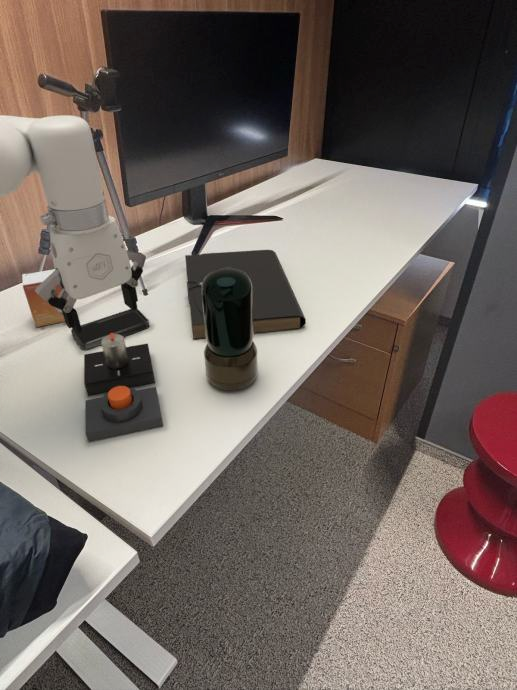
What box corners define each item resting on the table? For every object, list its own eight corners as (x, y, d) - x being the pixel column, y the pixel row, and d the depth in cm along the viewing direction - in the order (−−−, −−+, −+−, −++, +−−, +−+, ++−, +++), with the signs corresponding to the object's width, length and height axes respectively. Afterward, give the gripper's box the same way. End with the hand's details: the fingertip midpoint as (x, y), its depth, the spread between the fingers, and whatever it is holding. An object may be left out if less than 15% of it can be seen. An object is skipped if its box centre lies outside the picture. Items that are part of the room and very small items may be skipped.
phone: (150, 322, 103) (81, 346, 96) (151, 326, 104) (82, 350, 97) (135, 306, 109) (69, 328, 102) (136, 311, 109) (70, 332, 102)
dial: (129, 366, 88) (124, 343, 85) (107, 370, 87) (101, 347, 84) (127, 354, 91) (122, 330, 88) (106, 358, 90) (100, 334, 87)
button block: (88, 442, 77) (82, 424, 75) (88, 409, 83) (82, 392, 81) (163, 426, 80) (160, 408, 78) (157, 395, 86) (154, 378, 84)
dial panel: (88, 396, 86) (84, 383, 84) (87, 366, 93) (83, 353, 91) (155, 383, 89) (152, 370, 87) (150, 355, 96) (147, 342, 94)
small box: (35, 328, 104) (21, 285, 98) (35, 315, 108) (21, 273, 102) (74, 320, 107) (62, 278, 100) (72, 308, 111) (60, 266, 105)
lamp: (200, 391, 87) (188, 283, 74) (213, 359, 94) (204, 256, 82) (252, 396, 86) (249, 288, 73) (261, 364, 93) (260, 260, 80)
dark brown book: (184, 254, 124) (276, 248, 127) (185, 268, 126) (275, 262, 129) (190, 323, 97) (306, 313, 101) (192, 340, 100) (305, 329, 103)
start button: (110, 411, 78) (107, 402, 77) (109, 397, 81) (107, 388, 79) (133, 407, 79) (131, 397, 77) (131, 393, 81) (129, 383, 80)
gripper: (27, 239, 60) (62, 349, 70) (147, 206, 69) (163, 307, 79) (7, 223, 65) (42, 328, 75) (122, 193, 74) (139, 291, 84)
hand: (104, 317), depth 77 cm, fingers open, 9 cm apart
